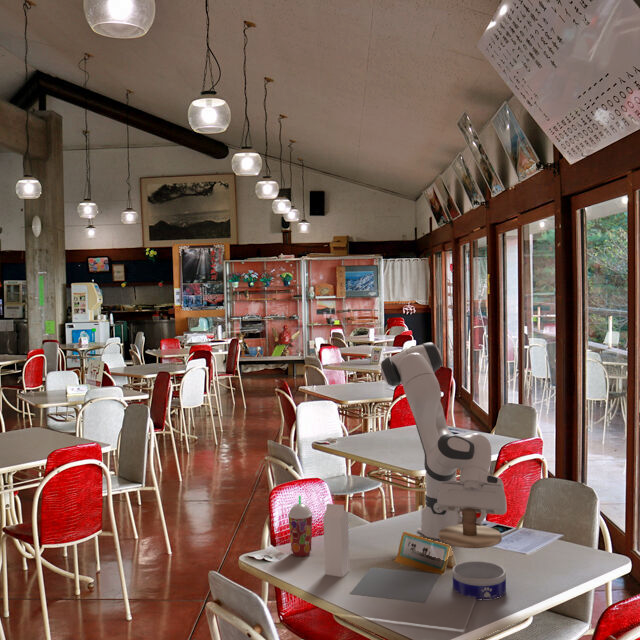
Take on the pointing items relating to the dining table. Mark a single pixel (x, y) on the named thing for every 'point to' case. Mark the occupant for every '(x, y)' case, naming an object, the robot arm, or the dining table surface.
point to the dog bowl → (479, 579)
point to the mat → (396, 584)
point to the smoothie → (300, 529)
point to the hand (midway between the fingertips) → (469, 524)
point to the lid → (470, 533)
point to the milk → (336, 540)
